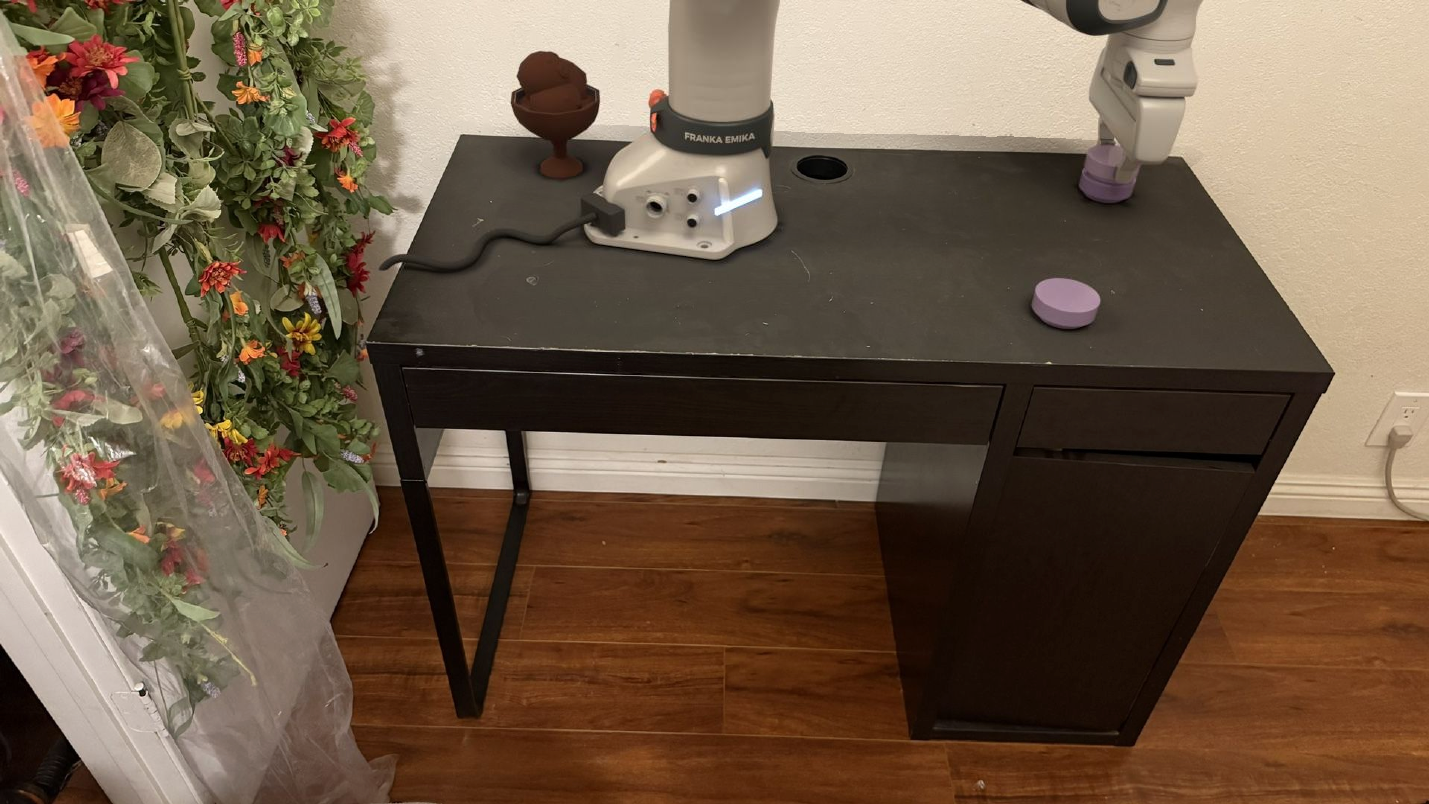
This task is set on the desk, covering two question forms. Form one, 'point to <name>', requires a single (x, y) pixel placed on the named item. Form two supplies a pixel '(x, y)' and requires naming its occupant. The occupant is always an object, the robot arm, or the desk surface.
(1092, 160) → the dish top
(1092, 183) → the dish bottom
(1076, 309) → the dish front
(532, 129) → the ice cream bowl
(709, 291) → the desk surface
